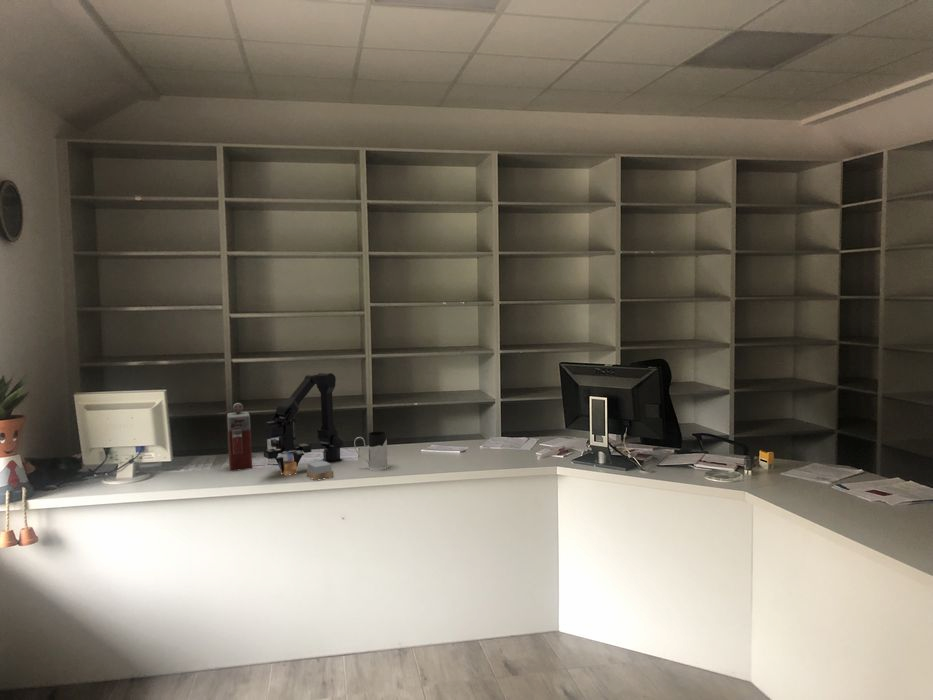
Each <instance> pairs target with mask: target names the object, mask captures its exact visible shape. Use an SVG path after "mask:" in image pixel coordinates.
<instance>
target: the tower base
mask: <svg viewBox="0 0 933 700" xmlns="http://www.w3.org/2000/svg"><path fill="white" fill-rule="evenodd" d="M307 476H308V477H307ZM334 476H335V475H334V470H332V471H331V472H326V473H321V474H314V473H311V472H309V471H308V469H307V470H306V477H307V478H309V477H310V478H309V479H311V478H313V479H314V480H313V479H312V480H313V481H315V480H317V481H319V480H318V479H322V480H324V479H323V478H327V479H330V478H329V477H332V478H334Z"/></svg>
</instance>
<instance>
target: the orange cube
mask: <svg viewBox="0 0 933 700" xmlns="http://www.w3.org/2000/svg"><path fill="white" fill-rule="evenodd" d="M283 463H284V471H283V473H282V472H281V470H280V469H279V470H280V474H281V473H282V474H284V475H289V474H294V475H296V474H295V473H297V474H298V470H297V469H298V466H297V465H296V462H295V461H292V460H289V461H283ZM282 474H281V475H282ZM284 475H283V476H284ZM289 476H290V475H289Z"/></svg>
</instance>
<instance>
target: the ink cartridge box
mask: <svg viewBox="0 0 933 700" xmlns="http://www.w3.org/2000/svg"><path fill="white" fill-rule="evenodd" d="M272 439H276V440H277V441H278V440H279V437H276V438H271V439H266V442H267V443H266V444H267V450H268V449H275V450H281V449H276V447H271V440H272ZM290 451H291V450H290ZM284 452H286V451H284ZM281 456H282V457H283V461H289V460H292V461H293V460H294V457H293V453H286V454H281ZM267 464H268V465H273V464H278V463H277V461H276V459H274V458H273V459H268V458H267Z"/></svg>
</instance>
